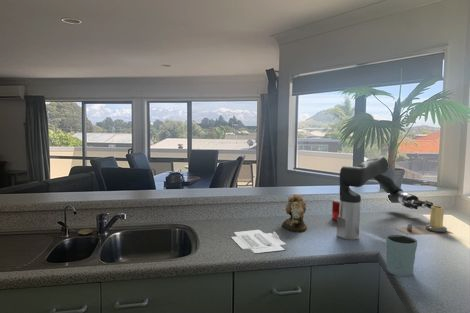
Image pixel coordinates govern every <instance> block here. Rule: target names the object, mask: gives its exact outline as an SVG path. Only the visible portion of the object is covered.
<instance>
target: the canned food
mask: <svg viewBox="0 0 470 313" xmlns="http://www.w3.org/2000/svg"><path fill="white" fill-rule="evenodd" d="M331 207H332V210H331V211H332V212H331V219H332V220H333V221H335V222H337V216H339V207H340V198H333V199H332V206H331Z"/></svg>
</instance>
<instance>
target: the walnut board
mask: <svg viewBox="0 0 470 313" xmlns="http://www.w3.org/2000/svg"><path fill="white" fill-rule="evenodd" d="M425 227H426V226H413V223H410V222H409V223H407V226H406V227H394V229H395V230H396V231H399V232H400V233H402V234H405V236H415V235H444V234H445V235H450V234H454V233H453V232H452V231H449V230H447V232H446V233H436V232H431V231H428V230H426V229H425Z"/></svg>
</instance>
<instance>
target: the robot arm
mask: <svg viewBox="0 0 470 313" xmlns="http://www.w3.org/2000/svg"><path fill="white" fill-rule="evenodd" d="M388 170H389V162H388V160H387V158H385V157H384V156H377V157H371V158H369V159H368V158H367V159H366V161H363V162H361V163H359V164H358V165H357V166H351V165H343V166H342V167H341V168H340V171H339V199H340V207H339V216H337V221H336V236H337V237H339V238H341V239H343V240H358V239H359V237H360V222H361V204H362V202H361V200H362V199H361V198H362V196H361V194H359V193H357V192H356V191H354V190H352V189H351V187H353V188H354V187H355V188H360V187H363V186H364V185H365V184H366V183H367V182H368V181H370V180H372V179H374V180H375V181H376V182H377V183H379V185H380V186H381V188H382V189H383V192H385V193H390V194H389V195H388V198H389V200H390V201H391V202H390V203H393V204H401V206H403V207H405V208H409V209H411V210H412V209H413V210H418V209H419V208H422V209H423V208H424V209H426V208H428V209H430V210H431V206H435V205H434V203H433V202H432V201H429V200H421V199H419V197H418V196H416V195H415V194H412V193H409V192H405V191H403V189H402V188H401V187H399V186H397V184H395V182H394V180H393V179H392V178H391V176H388V175H387V174H385V173H387V172H388Z"/></svg>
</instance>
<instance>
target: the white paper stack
mask: <svg viewBox="0 0 470 313" xmlns="http://www.w3.org/2000/svg"><path fill="white" fill-rule="evenodd" d="M233 234H234V235H235V236H230V238H231V239H232V240H233V241H234V242H235V243H236V244H237V245H238V246H239V247H240V248H241V250H250V251H251V252H252V253H253V254H260V253H267V252H277V251H285V250H286V249H285V248H283V247H282V246H286V245H287V243H286V242H284V241H282V240H281V239H280V237H279V234H278V233H277V232H276V231H273V232H268V233H265V232H264V231H262V230H260V229H251V230H243V231H233Z"/></svg>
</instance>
